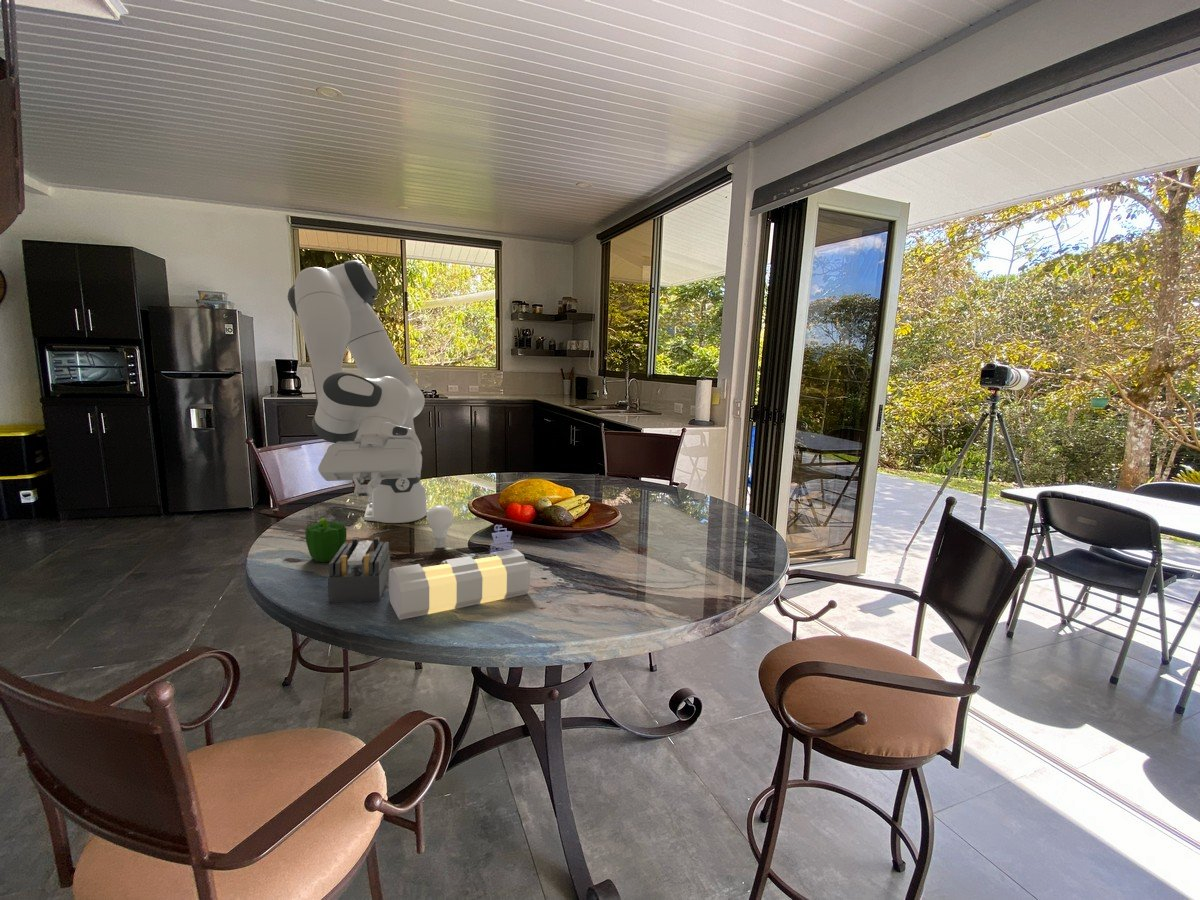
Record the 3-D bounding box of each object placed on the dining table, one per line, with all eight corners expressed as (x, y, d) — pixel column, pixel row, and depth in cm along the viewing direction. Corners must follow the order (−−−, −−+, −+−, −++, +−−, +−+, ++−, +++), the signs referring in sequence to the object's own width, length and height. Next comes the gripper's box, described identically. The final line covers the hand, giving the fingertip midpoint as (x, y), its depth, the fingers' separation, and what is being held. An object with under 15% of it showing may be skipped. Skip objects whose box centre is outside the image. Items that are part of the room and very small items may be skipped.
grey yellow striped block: (509, 578, 115) (511, 521, 113) (529, 597, 107) (531, 535, 105) (388, 601, 102) (388, 536, 100) (400, 624, 93) (400, 553, 91)
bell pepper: (323, 550, 126) (322, 509, 124) (354, 554, 124) (353, 513, 122) (296, 562, 117) (294, 519, 116) (328, 567, 116) (327, 523, 114)
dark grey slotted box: (344, 575, 112) (344, 537, 110) (390, 574, 114) (389, 536, 112) (328, 602, 99) (327, 559, 98) (379, 600, 101) (378, 558, 100)
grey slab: (360, 544, 111) (360, 539, 111) (373, 544, 111) (373, 539, 111) (347, 565, 100) (347, 560, 100) (361, 564, 100) (361, 559, 100)
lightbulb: (445, 553, 127) (445, 509, 126) (421, 550, 129) (421, 507, 127) (457, 545, 134) (458, 503, 132) (434, 542, 135) (434, 500, 133)
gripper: (323, 432, 111) (303, 488, 103) (420, 429, 111) (407, 484, 103) (336, 450, 116) (318, 504, 108) (429, 447, 116) (417, 501, 108)
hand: (362, 494), depth 105 cm, fingers closed
